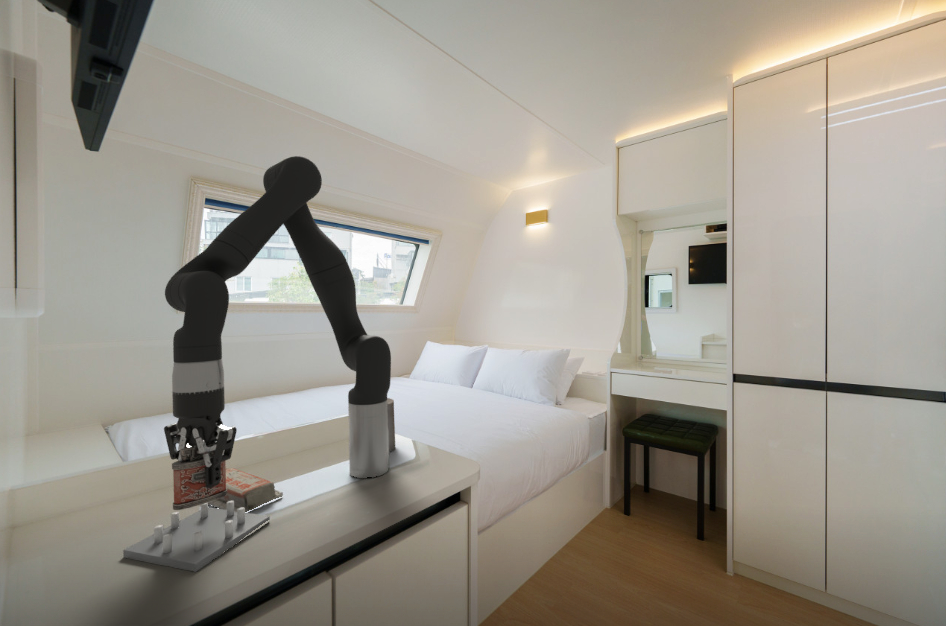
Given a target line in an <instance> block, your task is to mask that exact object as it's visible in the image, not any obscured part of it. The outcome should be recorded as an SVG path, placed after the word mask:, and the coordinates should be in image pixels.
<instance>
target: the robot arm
mask: <svg viewBox="0 0 946 626" xmlns="http://www.w3.org/2000/svg"><path fill="white" fill-rule="evenodd" d="M262 177H263V179H262V180H263V181H262V182H263V187H264V191H265V193H263V195H262V196H260V198H258V199H257V200H256V201H255V202H253V204H251V205H250V206H249V207H248V208H247V209H245V210H244V211H243V212H242V213H240V214H239V215H238V216H237V217H235V218H234V219H233V220H232V221H230V223H229V224H228V225H226V226H225V227H224V228H223V230H222V231H220V232H219V234H218V235H216V237H215V238H214V239H213V240H212V241H211V242H210V243H209V245H208V246H207V247H206V248H205V249H204V250H203V251H202V252H200V253H199V254H198V255H196V256H195V257H193V259H191V260H189V261H188V262H187V263H185V265H183V266H182V267H181V268H179V269H178V270H177V271H176V272H175V273H174V274H173V275H172V276H171V277H170V279H169V280H168V281H167V283H166V285H165V289H164V297H165V300H166V302H167V304H168V305H169V306H170V307H172V309H174V310H176V311H179V312H182V313H184V317H183V322H182V326H181V327H180V328H178V329H177V330H176V331H175V332H174V335H173V341H172V342H173V343H172V344H173V345H172V346H173V348H172V349H173V351H172V353H173V366H172V372H171V373H172V375H171V377H172V378H171V379H172V380H171V382H172V383H171V384H172V385H171V387H172V391H171V393H172V398H171V399H172V416H173V417H174V418H176V419H177V422H175V423H172V424H171V423H170V424H168V425H166V426H164V428H163V432H164V437H165V439H166V445H167V449H168V452H169V453H168V454H169V456H170V457H169V458H170V459H171V460H172V461H173V460H177V461H180V460H182V459H181V456H180V449H183V448H187V447H191V446H194V445H195V446H198V450H199V453H200V454H202V455H203V457H204V461H205V465H206V467H205V487H206V488H212V487H214V486H216V485H218V484H219V482H220V480H221V462H223V461H228V460H230V459H231V457H232V453H233V449H234V444H235V440H236V436H237V435H236V434H237V428H236V426H233V425H232V426H230V427H227V426H225V425H224V424H223V423H224V422H223V421H222V417H221V414H222V413H223V412H224V410H225V407H226V406H225V405H226V403H225V371H224V365H223V352H222V351H223V349H222V348H223V347H222V346H223V343H222V333H223V330H224V327H225V323H226V319H227V315H228V311H229V304H230V303H229V302H230V293H229V289H228V286H227V283H226V281H228V280H229V279H232V278H234V277H236V276H239V275H241V274H242V273H243V272H244V271H245V270H246V268H247V267H249V265H250V264H251V263H252V262H253V260H254V259H255V258H256V257H257V255H258V254H259V253H260V251H262V249H263V248H264V246H265V245H267V243H268V242H269V241H270V240H271V238H272V237H273V236H274V235H275V234H276V232H278V231H279V229H280V228H281V227H282V226H284V227H285V229H286V231H287V233H288V235H289V238H290V239H291V241H292V244H293V247H294V248H295V249H296V253H297V254H298V256H299V258H300V260H301V263H302V264H303V267H304V270H305V272H306V275H307V277H308V279H309V282H310V283H311V286H312V288H313V290H314V292H315V294H316V296H317V298H318V300H319V302H320V305H321V307H322V309H323V312H324V313H325V316H326V318H327V319H328V322H329V324H330V326H331V329H332V331H333V334H334V338H335V340H336V343H337V346H338V349H339V350H338V351H339V353H340V356H341V359H342V361H343V363H344V364H345V366H346V367H347V368H349V369H350V370H352V371H353V372H355V384H354V387H352V388H351V389H350V390H348V395H347V402H348V407H347V409H348V446H349V447H348V452H349V455H348V456H349V457H348V459H349V460H348V461H349V463H348V464H349V475H350V476H351V477H353V476H354V477H353V478H356V477H357V478H356V479H368V478H367V477H372V478H376V476H377V477H379V476H382V475H385V474H386V473H387V472H388V471H389V466H390V452H389V430H388V414H387V398H388V393H389V392H390V391H389V390H390V387H391V377H392V376H391V374H392V373H391V371H392V354H391V348H390V345H389V344H388V342H387V340H385V338H383V337H381V336H378V335H369V334H368V333H367V332H366V330H365V328H364V326H363V323H362V321H361V319H360V317H359V315H358V310H357V309H358V308H357V293H356V292H357V290H356V289H357V288H356V282H355V278H354V276H353V273H352V270H351V267H350V266H349V264H348V261H347V259H346V256H345V255H344V253H343V252H342V249H340V248H339V247H338V245H336V243H335V242H334V241H333V240H332V239H331V238H330V237H328V235H327V234H326V233H324V231H323V230H322V229H321V228H320V227H319V226H318V224H317V223H316V221H315V219H314V217H313V215H312V213H311V210H310V208H309V206H308V202H309V201H311V200H312V199H313V198H315V197H316V196H317V195H318V194H319V192H320V190H321V189H322V185H323V184H322V182H323V181H322V174H321V172H320V170H319V168H318V167H317V165H316V163H314V162H313V161H312V160H311V159H309V158H307V157H305V156H301V155H292V156H288V157H287V158H285V159H282V160H280V161H278V162H276V163H274V164H273V165H272V166H270V167H268V168H267V169H266V171H264V174H263V176H262ZM212 443H213V445H212V446H211V447H207V445H210V444H212ZM177 444H178V447H177ZM211 451H213V453H214V457H213V458H212V456H211ZM223 451H224V454H223ZM188 456H189V455H188ZM187 458H188V457H187Z"/></svg>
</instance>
